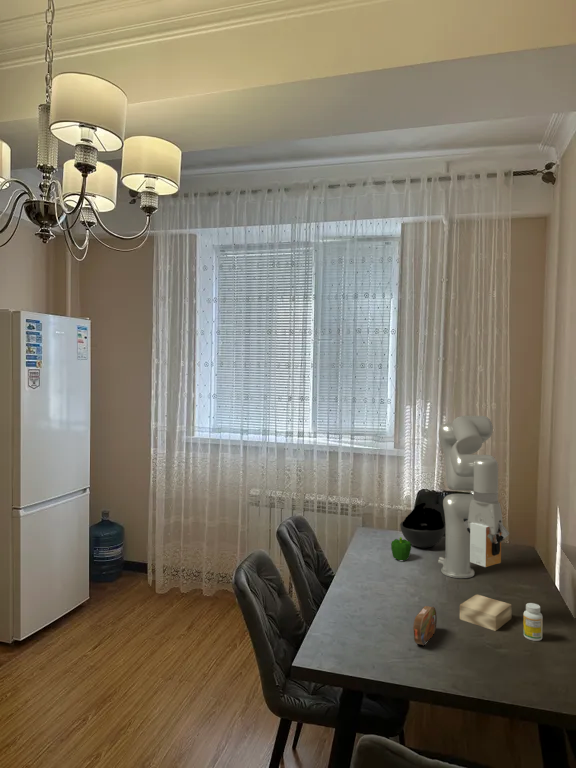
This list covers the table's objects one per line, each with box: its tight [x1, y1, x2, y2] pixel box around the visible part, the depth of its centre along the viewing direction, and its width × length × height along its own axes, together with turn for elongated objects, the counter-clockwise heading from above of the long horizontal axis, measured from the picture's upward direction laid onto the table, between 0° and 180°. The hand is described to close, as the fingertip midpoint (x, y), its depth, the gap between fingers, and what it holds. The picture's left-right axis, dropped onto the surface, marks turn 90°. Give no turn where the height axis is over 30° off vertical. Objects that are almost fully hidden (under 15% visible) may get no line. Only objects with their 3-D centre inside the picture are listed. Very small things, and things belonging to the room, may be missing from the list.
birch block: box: [459, 593, 512, 632], centre depth 181 cm, size 12×12×5 cm
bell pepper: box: [390, 536, 412, 561], centre depth 238 cm, size 8×8×10 cm
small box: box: [470, 523, 502, 568], centre depth 181 cm, size 8×6×13 cm
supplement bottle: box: [522, 602, 544, 642], centre depth 168 cm, size 5×5×10 cm
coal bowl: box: [399, 502, 445, 549], centre depth 255 cm, size 20×20×19 cm
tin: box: [412, 605, 438, 646], centre depth 168 cm, size 15×3×8 cm, turn 148°
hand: (485, 551), depth 181 cm, fingers closed on small box, 6 cm apart
